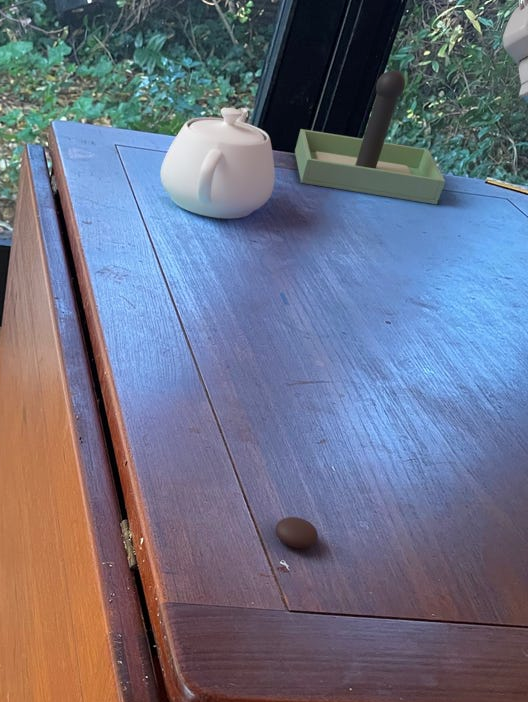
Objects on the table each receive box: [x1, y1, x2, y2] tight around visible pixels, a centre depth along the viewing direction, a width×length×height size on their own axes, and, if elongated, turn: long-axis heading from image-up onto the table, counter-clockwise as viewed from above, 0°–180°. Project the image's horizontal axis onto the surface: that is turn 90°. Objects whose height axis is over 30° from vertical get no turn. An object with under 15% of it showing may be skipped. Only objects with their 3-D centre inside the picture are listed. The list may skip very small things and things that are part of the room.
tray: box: [294, 128, 446, 205], centre depth 136 cm, size 18×14×3 cm
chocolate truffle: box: [275, 516, 319, 549], centre depth 70 cm, size 3×3×2 cm
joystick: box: [315, 69, 411, 174], centre depth 133 cm, size 13×9×13 cm
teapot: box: [159, 107, 276, 219], centre depth 118 cm, size 22×14×11 cm, turn 162°
